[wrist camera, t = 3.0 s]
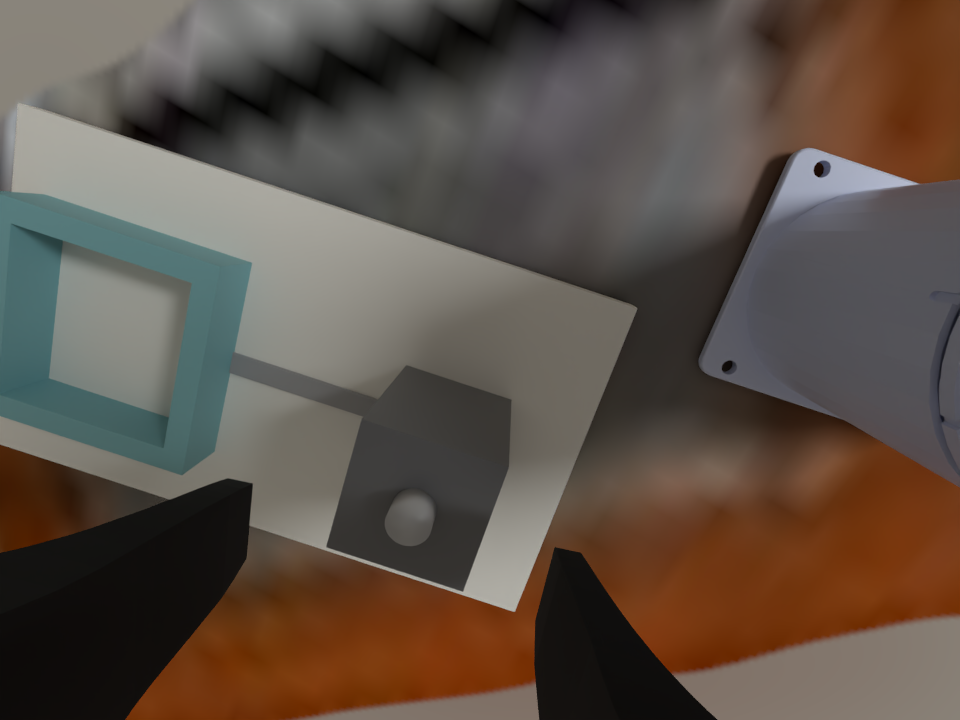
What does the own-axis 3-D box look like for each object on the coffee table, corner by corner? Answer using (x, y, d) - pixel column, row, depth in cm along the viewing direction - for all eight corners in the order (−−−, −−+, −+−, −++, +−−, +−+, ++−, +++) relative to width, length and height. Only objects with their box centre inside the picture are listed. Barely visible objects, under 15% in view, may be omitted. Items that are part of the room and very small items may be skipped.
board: (631, 304, 18) (652, 317, 16) (514, 595, 22) (514, 651, 19) (44, 109, 18) (-45, 86, 15) (16, 432, 22) (-62, 463, 19)
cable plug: (511, 399, 19) (508, 482, 13) (477, 494, 20) (459, 612, 14) (406, 365, 19) (352, 430, 12) (378, 461, 20) (314, 565, 14)
